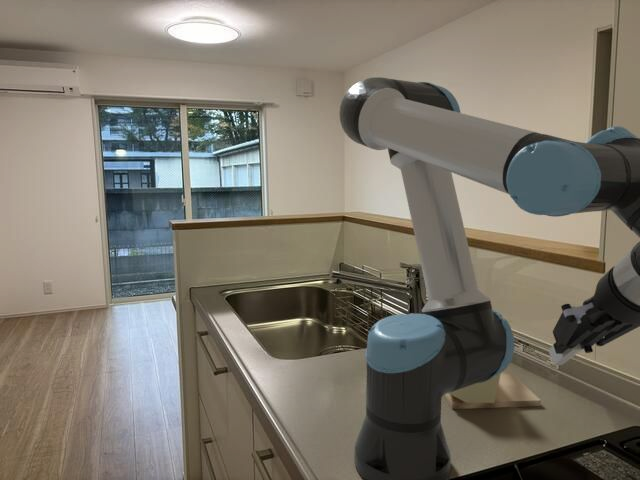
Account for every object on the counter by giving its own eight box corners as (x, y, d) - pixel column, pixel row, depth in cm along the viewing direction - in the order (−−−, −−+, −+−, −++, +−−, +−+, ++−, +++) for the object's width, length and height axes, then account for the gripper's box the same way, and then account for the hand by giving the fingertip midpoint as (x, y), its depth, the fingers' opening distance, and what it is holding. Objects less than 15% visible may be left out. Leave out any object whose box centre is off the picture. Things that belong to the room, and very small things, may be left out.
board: (451, 408, 93) (452, 403, 93) (428, 374, 109) (428, 369, 109) (540, 406, 94) (540, 400, 94) (504, 372, 110) (504, 367, 110)
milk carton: (502, 364, 91) (482, 333, 111) (454, 355, 92) (442, 326, 112) (493, 408, 92) (474, 370, 112) (445, 399, 94) (435, 362, 113)
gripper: (603, 313, 57) (523, 380, 76) (705, 311, 58) (601, 378, 77) (580, 260, 61) (510, 336, 80) (676, 260, 62) (584, 335, 81)
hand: (555, 357), depth 78 cm, fingers closed
